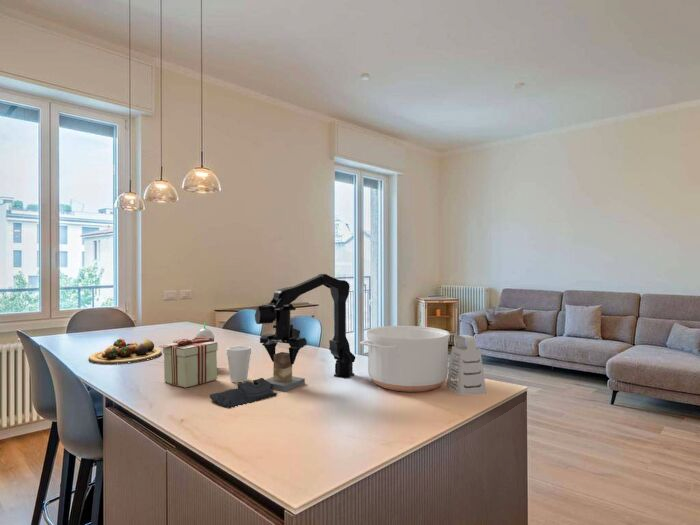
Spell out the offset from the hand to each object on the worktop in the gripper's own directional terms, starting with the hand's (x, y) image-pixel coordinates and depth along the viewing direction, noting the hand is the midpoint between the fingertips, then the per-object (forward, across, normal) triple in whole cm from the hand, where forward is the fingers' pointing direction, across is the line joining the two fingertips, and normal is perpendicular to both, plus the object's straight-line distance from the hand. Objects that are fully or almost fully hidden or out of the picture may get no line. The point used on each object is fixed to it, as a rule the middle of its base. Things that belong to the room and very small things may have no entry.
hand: (282, 362), depth 166 cm
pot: (+9, -40, -27) cm, 49 cm away
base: (+8, 0, 0) cm, 8 cm away
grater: (+9, -62, -30) cm, 69 cm away
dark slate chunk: (+9, +3, +18) cm, 20 cm away
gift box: (+9, +36, +15) cm, 40 cm away
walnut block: (+2, 0, 0) cm, 2 cm away
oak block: (+6, 0, 0) cm, 6 cm away
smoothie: (+9, +48, -4) cm, 49 cm away
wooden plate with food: (+9, +98, +2) cm, 98 cm away
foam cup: (+9, +19, +4) cm, 21 cm away
